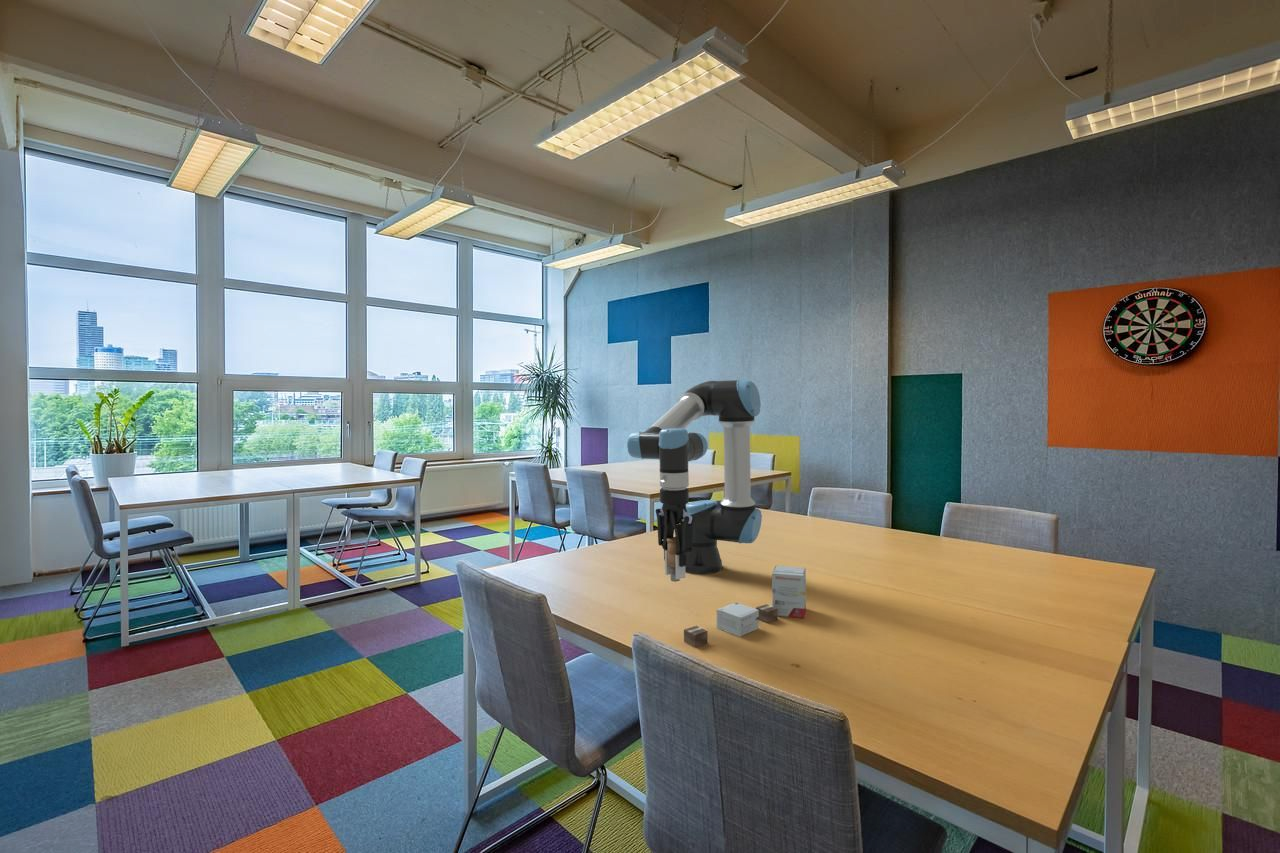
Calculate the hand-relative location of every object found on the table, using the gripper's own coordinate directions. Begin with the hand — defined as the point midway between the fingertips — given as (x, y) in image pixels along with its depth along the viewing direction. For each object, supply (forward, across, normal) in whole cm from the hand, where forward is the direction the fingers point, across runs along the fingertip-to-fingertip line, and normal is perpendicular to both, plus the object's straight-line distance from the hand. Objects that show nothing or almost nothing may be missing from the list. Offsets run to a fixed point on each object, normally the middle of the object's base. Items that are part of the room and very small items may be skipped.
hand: (675, 575), depth 152 cm
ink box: (+13, +13, +30) cm, 35 cm away
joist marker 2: (+13, +13, +20) cm, 27 cm away
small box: (+13, +13, +10) cm, 21 cm away
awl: (+1, 0, 0) cm, 1 cm away
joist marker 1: (+12, +13, -4) cm, 19 cm away
